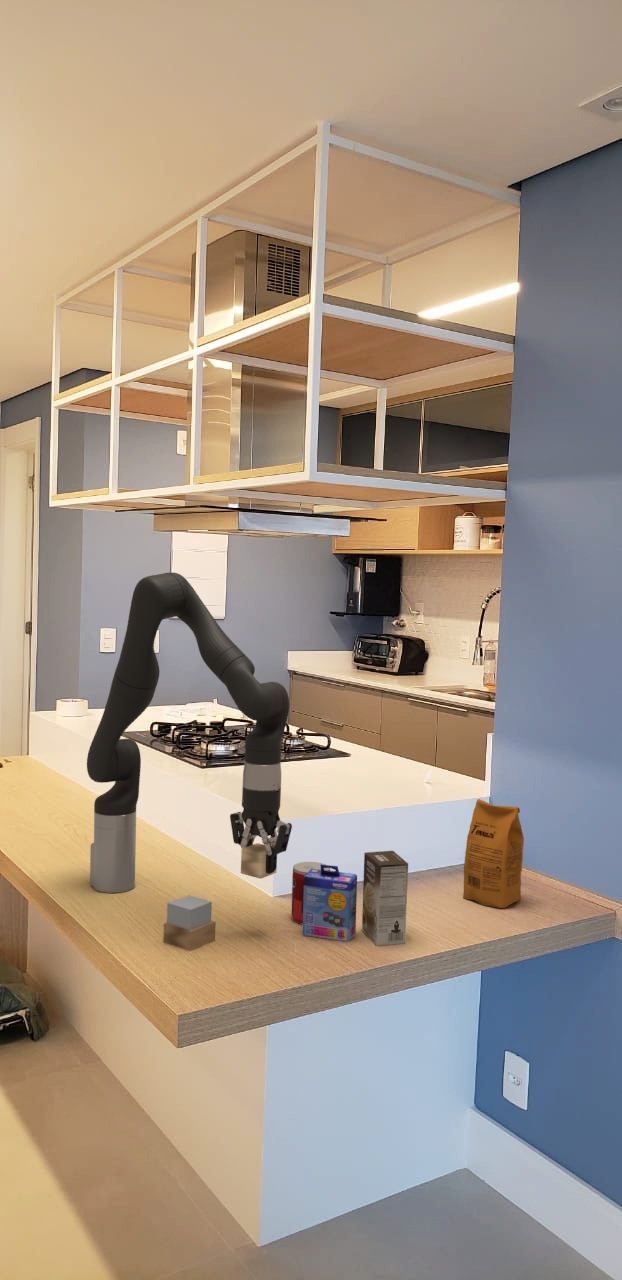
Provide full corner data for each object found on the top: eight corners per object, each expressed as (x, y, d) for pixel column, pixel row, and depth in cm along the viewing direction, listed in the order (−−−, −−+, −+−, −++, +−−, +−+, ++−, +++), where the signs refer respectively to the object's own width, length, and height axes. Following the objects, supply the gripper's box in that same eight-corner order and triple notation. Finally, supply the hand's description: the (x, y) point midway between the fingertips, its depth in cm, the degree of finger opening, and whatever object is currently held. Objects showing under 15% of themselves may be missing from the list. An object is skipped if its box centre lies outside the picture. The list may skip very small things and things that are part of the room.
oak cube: (240, 873, 195) (241, 848, 195) (256, 867, 200) (257, 843, 199) (260, 878, 193) (261, 853, 192) (276, 872, 197) (277, 847, 196)
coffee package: (481, 888, 230) (485, 794, 228) (527, 902, 221) (531, 804, 220) (454, 897, 223) (458, 800, 222) (501, 912, 214) (505, 811, 213)
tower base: (163, 943, 191) (163, 923, 191) (188, 933, 197) (188, 913, 197) (190, 952, 187) (191, 931, 187) (215, 941, 193) (215, 921, 193)
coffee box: (360, 929, 201) (362, 851, 200) (390, 927, 203) (392, 849, 202) (376, 946, 192) (378, 864, 191) (407, 943, 194) (409, 862, 193)
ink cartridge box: (300, 936, 196) (302, 863, 195) (308, 927, 202) (310, 856, 201) (349, 942, 194) (351, 869, 193) (356, 933, 199) (358, 862, 198)
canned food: (307, 910, 212) (308, 859, 211) (336, 919, 207) (338, 867, 206) (283, 919, 206) (284, 866, 205) (313, 928, 201) (314, 875, 200)
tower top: (166, 923, 191) (167, 902, 191) (188, 915, 196) (188, 895, 195) (189, 930, 187) (190, 909, 187) (211, 922, 192) (211, 901, 192)
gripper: (221, 781, 196) (218, 866, 197) (279, 793, 188) (276, 882, 189) (245, 775, 202) (242, 858, 203) (302, 787, 194) (299, 872, 195)
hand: (258, 869), depth 196 cm, fingers closed on oak cube, 5 cm apart
